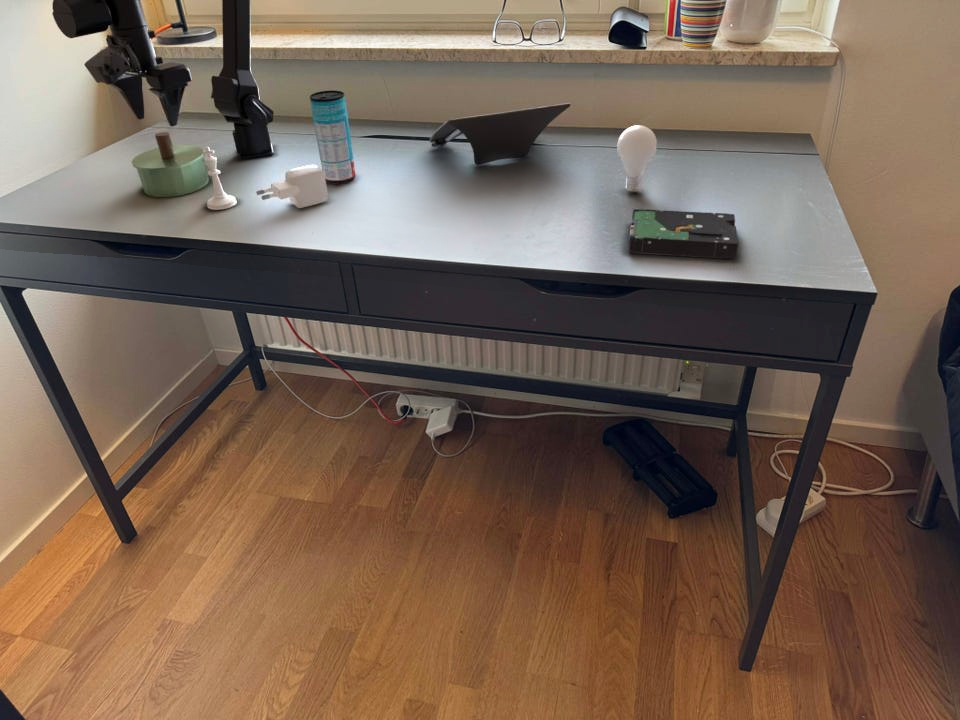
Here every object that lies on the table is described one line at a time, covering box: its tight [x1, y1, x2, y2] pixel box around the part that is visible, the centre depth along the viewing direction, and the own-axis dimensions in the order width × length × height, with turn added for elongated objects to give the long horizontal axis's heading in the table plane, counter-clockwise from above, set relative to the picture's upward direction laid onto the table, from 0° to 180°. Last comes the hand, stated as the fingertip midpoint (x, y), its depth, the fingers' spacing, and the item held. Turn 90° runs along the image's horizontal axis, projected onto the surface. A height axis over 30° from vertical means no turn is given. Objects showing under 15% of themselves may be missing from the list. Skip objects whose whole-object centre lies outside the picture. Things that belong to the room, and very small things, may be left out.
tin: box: [136, 157, 210, 198], centre depth 132 cm, size 11×11×5 cm
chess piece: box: [203, 146, 238, 211], centre depth 122 cm, size 5×5×10 cm
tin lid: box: [131, 131, 206, 171], centre depth 129 cm, size 12×12×5 cm
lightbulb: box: [616, 124, 658, 193], centre depth 118 cm, size 6×6×11 cm
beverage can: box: [309, 90, 357, 185], centre depth 128 cm, size 6×6×15 cm
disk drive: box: [627, 208, 739, 259], centre depth 104 cm, size 10×3×15 cm
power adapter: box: [256, 164, 329, 209], centre depth 121 cm, size 11×5×6 cm, turn 123°
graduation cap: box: [429, 102, 571, 166], centre depth 137 cm, size 23×23×9 cm
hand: (157, 122), depth 127 cm, fingers open, 9 cm apart
